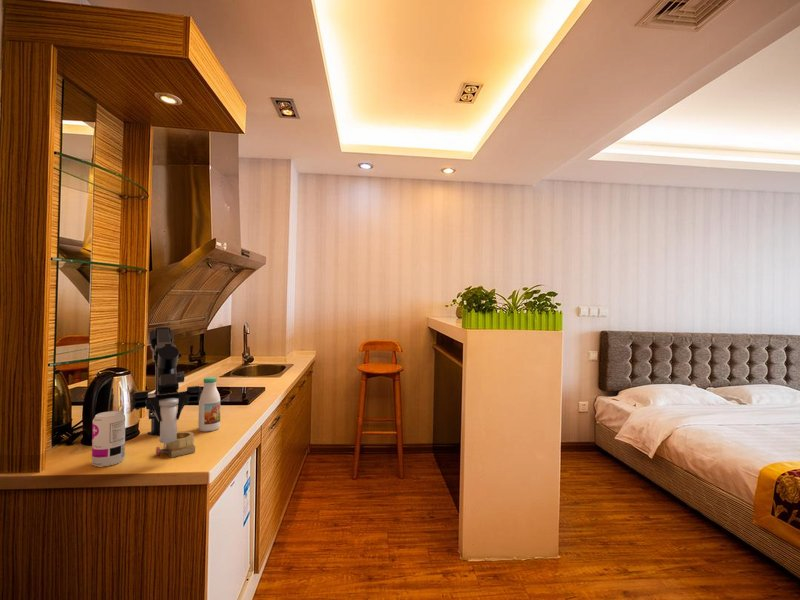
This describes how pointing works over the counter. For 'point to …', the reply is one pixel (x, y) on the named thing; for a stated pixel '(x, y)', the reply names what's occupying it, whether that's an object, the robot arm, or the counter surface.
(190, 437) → the valve body
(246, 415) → the counter surface
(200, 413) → the milk bottle
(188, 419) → the counter surface
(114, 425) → the supplement can
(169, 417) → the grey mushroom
